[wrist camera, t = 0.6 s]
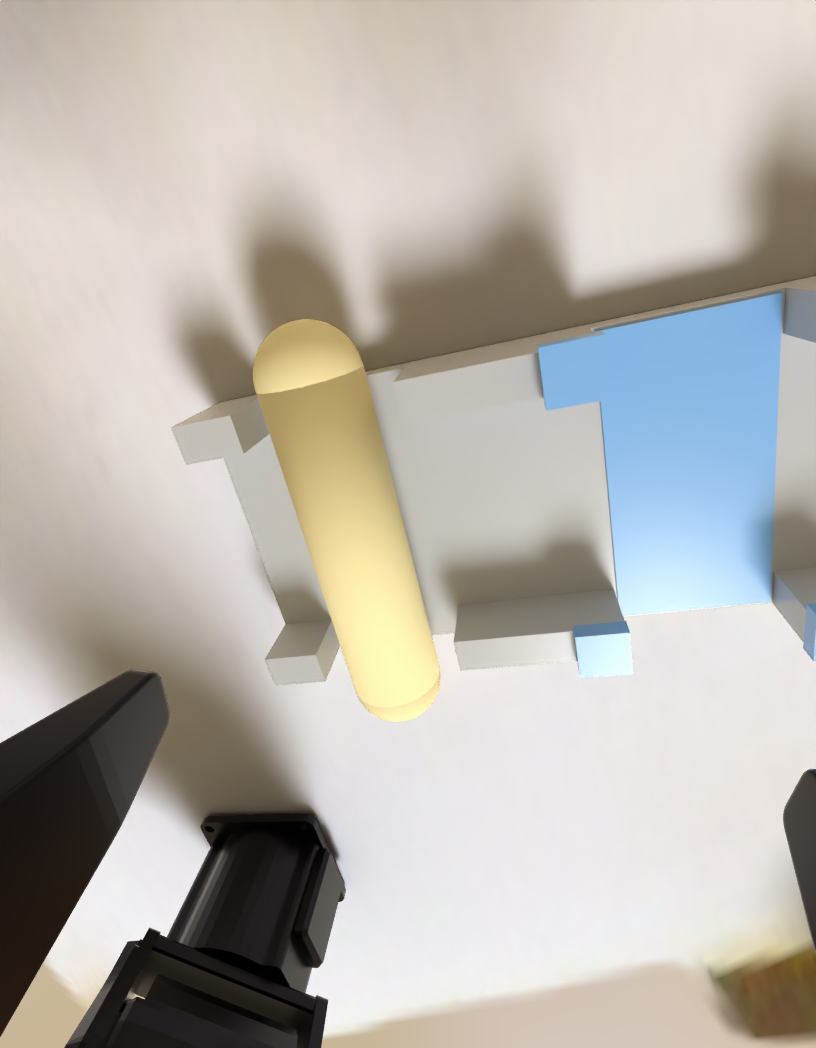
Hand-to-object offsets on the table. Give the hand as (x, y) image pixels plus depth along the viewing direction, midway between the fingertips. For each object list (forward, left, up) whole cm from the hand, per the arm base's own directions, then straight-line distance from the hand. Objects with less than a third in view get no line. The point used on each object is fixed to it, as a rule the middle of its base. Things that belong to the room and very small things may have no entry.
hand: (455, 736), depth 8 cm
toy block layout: (+1, -1, -13) cm, 13 cm away
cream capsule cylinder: (-4, -1, -12) cm, 12 cm away
